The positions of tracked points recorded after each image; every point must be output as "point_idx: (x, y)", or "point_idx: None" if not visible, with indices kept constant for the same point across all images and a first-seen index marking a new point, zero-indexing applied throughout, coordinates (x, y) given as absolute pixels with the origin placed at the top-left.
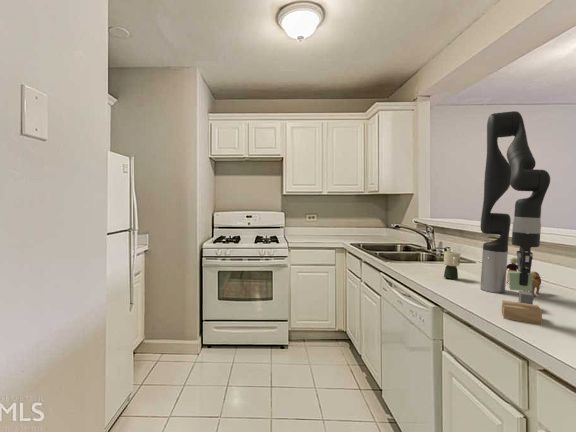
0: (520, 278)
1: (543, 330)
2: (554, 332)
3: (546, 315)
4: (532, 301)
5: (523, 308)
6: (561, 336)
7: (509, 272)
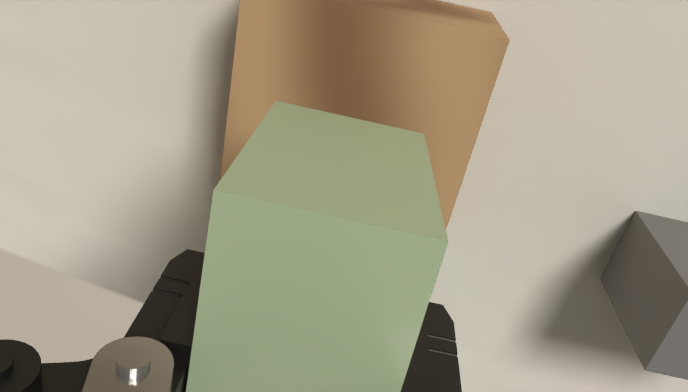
0: (187, 291)
1: (97, 165)
2: (94, 215)
3: (494, 322)
4: (627, 327)
5: (238, 143)
6: (33, 222)
7: (280, 212)
